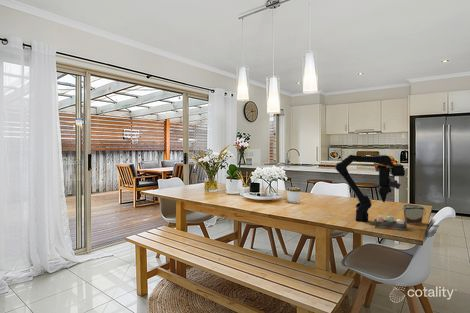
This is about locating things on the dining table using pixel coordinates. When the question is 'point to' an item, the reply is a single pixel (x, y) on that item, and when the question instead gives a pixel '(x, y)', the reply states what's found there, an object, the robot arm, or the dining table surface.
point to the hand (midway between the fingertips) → (383, 201)
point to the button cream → (399, 221)
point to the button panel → (390, 225)
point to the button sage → (390, 219)
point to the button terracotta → (380, 219)
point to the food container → (413, 213)
